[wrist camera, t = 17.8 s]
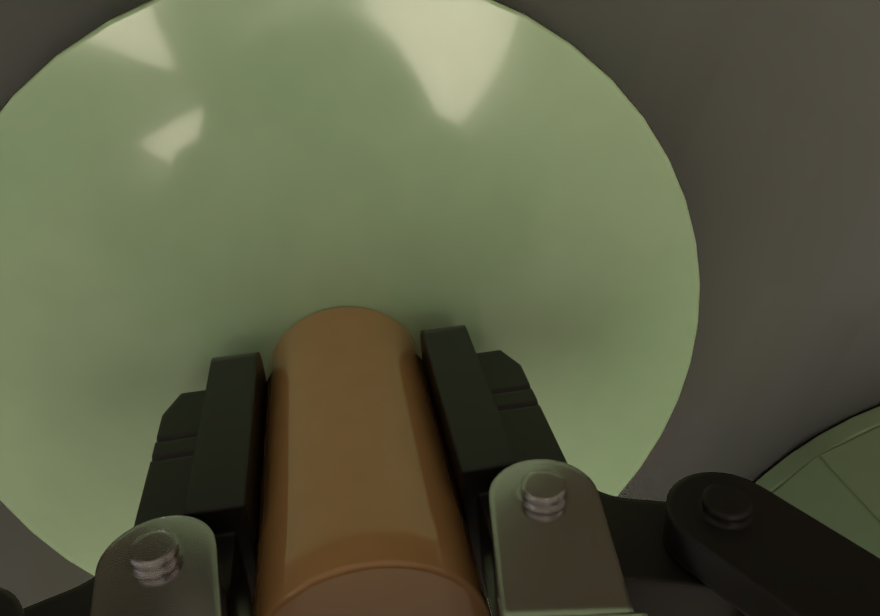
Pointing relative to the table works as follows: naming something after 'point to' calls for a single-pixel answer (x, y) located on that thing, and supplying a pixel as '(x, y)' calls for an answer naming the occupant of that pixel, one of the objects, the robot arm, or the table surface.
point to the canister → (836, 479)
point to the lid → (329, 272)
